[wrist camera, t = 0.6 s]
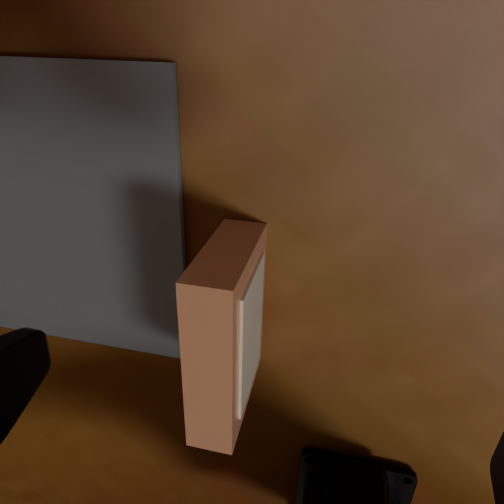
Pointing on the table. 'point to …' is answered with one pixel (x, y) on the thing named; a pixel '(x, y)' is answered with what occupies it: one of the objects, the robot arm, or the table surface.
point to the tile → (221, 332)
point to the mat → (91, 201)
